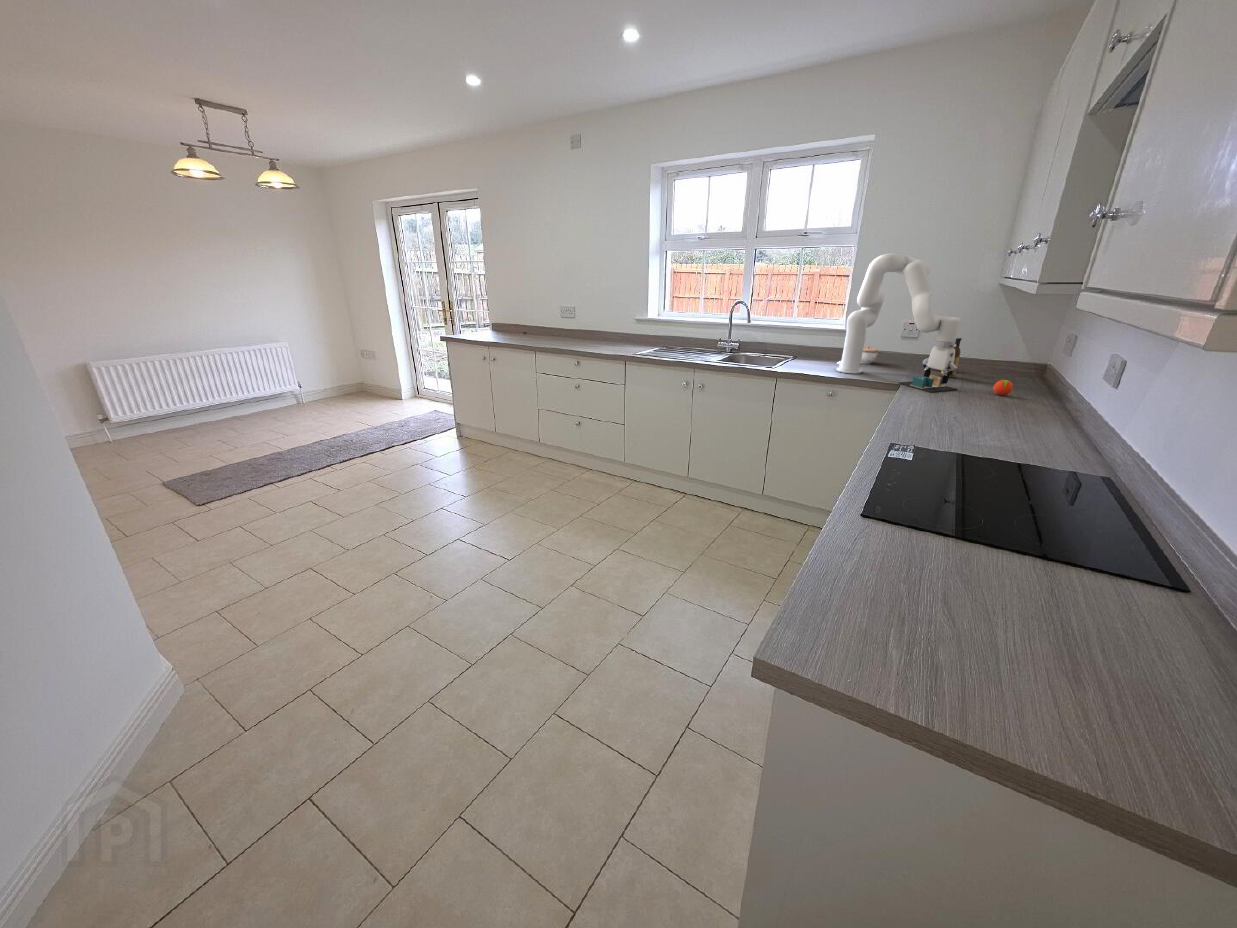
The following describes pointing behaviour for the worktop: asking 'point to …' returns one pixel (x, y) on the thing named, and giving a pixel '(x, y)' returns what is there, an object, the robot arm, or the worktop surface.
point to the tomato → (1003, 387)
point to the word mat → (930, 389)
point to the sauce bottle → (957, 356)
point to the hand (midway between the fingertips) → (934, 381)
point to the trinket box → (869, 355)
